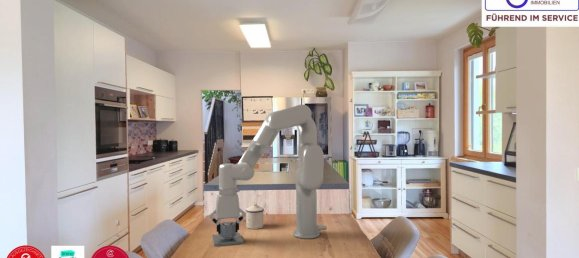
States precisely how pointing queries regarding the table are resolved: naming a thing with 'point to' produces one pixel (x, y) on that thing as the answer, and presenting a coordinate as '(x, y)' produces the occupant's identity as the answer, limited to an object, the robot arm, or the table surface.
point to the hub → (227, 230)
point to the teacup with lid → (254, 217)
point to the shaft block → (227, 239)
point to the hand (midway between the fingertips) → (227, 232)
